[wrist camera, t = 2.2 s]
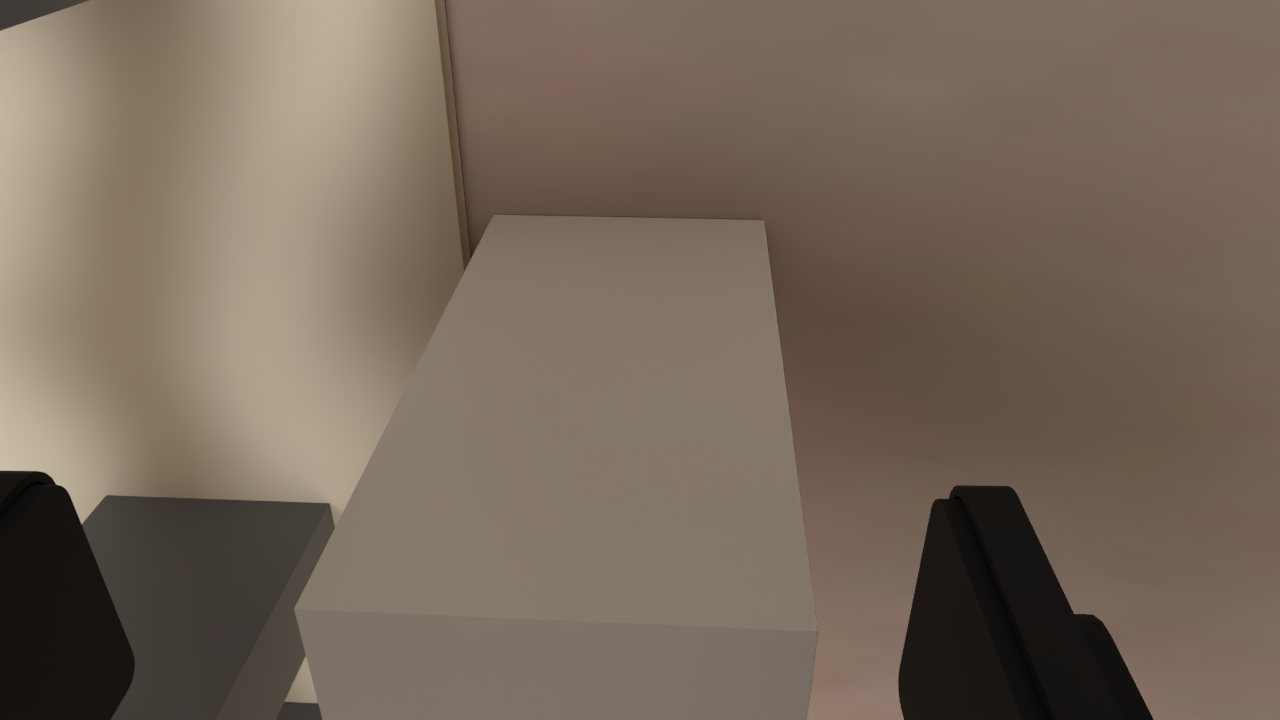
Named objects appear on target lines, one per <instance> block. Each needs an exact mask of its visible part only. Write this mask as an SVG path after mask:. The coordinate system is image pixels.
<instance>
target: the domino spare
mask: <svg viewBox="0 0 1280 720" xmlns="http://www.w3.org/2000/svg"><path fill="white" fill-rule="evenodd" d="M294 611H295V615H296V619H297V623H298V626H299V630H300V634H301V638H302V642H303V646H304V650H305V654H306V657H307V661H308V665H309V669H310V673H311V677H312V681H313V685H314V688H315V692H316V696H317V700H318V704H319V708H320V712H321V716H322V720H807V714H808V706H809V698H810V691H811V683H812V675H813V667H814V659H815V651H816V643H817V635H818V627H817V620H816V612H815V604H814V597H813V589H812V582H811V574H810V566H809V559H808V551H807V544H806V536H805V528H804V521H803V513H802V505H801V498H800V490H799V483H798V475H797V467H796V460H795V452H794V445H793V437H792V429H791V422H790V414H789V406H788V399H787V391H786V384H785V376H784V368H783V361H782V353H781V346H780V338H779V330H778V323H777V315H776V307H775V300H774V292H773V285H772V277H771V269H770V262H769V254H768V247H767V239H766V231H765V224H764V220H736V219H685V218H634V217H583V216H531V215H493V216H492V218H491V220H490V222H489V224H488V226H487V228H486V230H485V232H484V234H483V236H482V238H481V240H480V242H479V244H478V246H477V248H476V250H475V252H474V254H473V256H472V258H471V260H470V262H469V264H468V266H467V268H466V270H465V272H464V274H463V276H462V278H461V280H460V282H459V284H458V286H457V288H456V290H455V291H454V293H453V295H452V297H451V299H450V301H449V303H448V305H447V307H446V309H445V311H444V313H443V315H442V317H441V319H440V321H439V323H438V325H437V327H436V329H435V331H434V333H433V335H432V337H431V339H430V341H429V343H428V345H427V347H426V349H425V351H424V353H423V355H422V357H421V359H420V361H419V363H418V365H417V367H416V369H415V371H414V373H413V375H412V377H411V379H410V381H409V383H408V384H407V386H406V388H405V390H404V392H403V394H402V396H401V398H400V400H399V402H398V404H397V406H396V408H395V410H394V412H393V414H392V416H391V418H390V420H389V422H388V424H387V426H386V428H385V430H384V432H383V434H382V436H381V438H380V440H379V442H378V444H377V446H376V448H375V450H374V452H373V454H372V456H371V458H370V460H369V462H368V464H367V466H366V468H365V470H364V472H363V474H362V475H361V477H360V479H359V481H358V483H357V485H356V487H355V489H354V491H353V493H352V495H351V497H350V499H349V501H348V503H347V505H346V507H345V509H344V511H343V513H342V515H341V517H340V519H339V521H338V523H337V525H336V527H335V529H334V531H333V533H332V535H331V537H330V539H329V541H328V543H327V545H326V547H325V549H324V551H323V553H322V555H321V557H320V559H319V561H318V563H317V565H316V566H315V568H314V570H313V572H312V574H311V576H310V578H309V580H308V582H307V584H306V586H305V588H304V590H303V592H302V594H301V596H300V598H299V600H298V602H297V604H296V606H295V608H294Z"/></svg>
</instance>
